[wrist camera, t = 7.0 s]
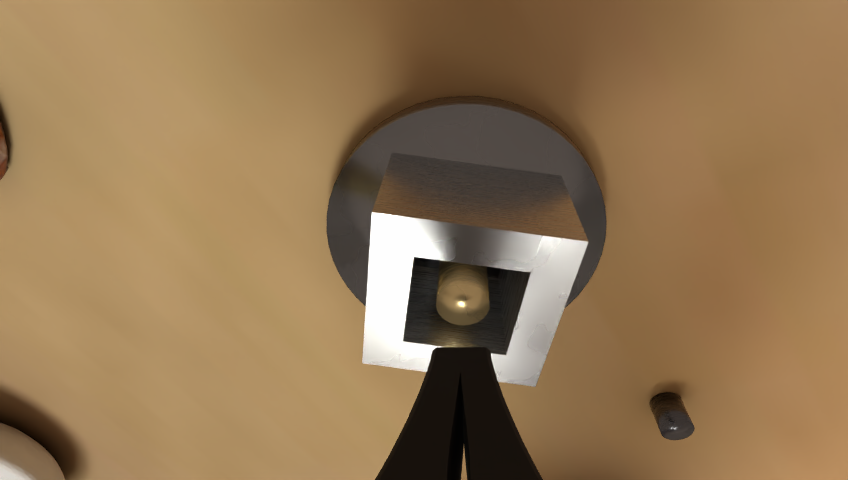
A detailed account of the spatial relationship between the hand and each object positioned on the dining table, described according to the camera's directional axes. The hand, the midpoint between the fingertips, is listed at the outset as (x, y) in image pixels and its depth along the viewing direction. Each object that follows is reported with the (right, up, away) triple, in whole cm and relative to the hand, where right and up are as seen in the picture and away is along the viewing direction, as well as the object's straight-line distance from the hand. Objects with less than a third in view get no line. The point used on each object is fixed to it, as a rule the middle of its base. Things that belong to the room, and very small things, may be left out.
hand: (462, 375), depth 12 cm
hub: (0, +4, +6) cm, 7 cm away
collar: (0, +4, +5) cm, 6 cm away
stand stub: (+10, -4, +10) cm, 15 cm away
